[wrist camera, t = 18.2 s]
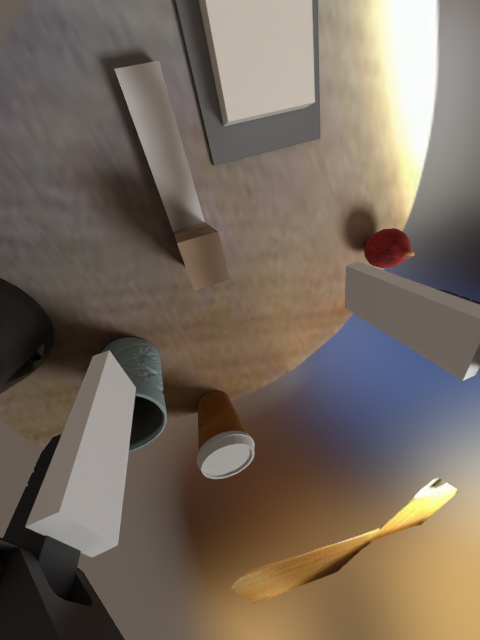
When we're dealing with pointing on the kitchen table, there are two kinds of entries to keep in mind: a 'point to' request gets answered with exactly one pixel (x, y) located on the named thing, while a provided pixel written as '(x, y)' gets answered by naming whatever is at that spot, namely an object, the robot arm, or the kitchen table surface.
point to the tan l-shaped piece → (172, 172)
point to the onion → (388, 248)
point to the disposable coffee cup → (221, 438)
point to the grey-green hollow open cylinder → (142, 387)
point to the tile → (260, 56)
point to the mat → (249, 134)
